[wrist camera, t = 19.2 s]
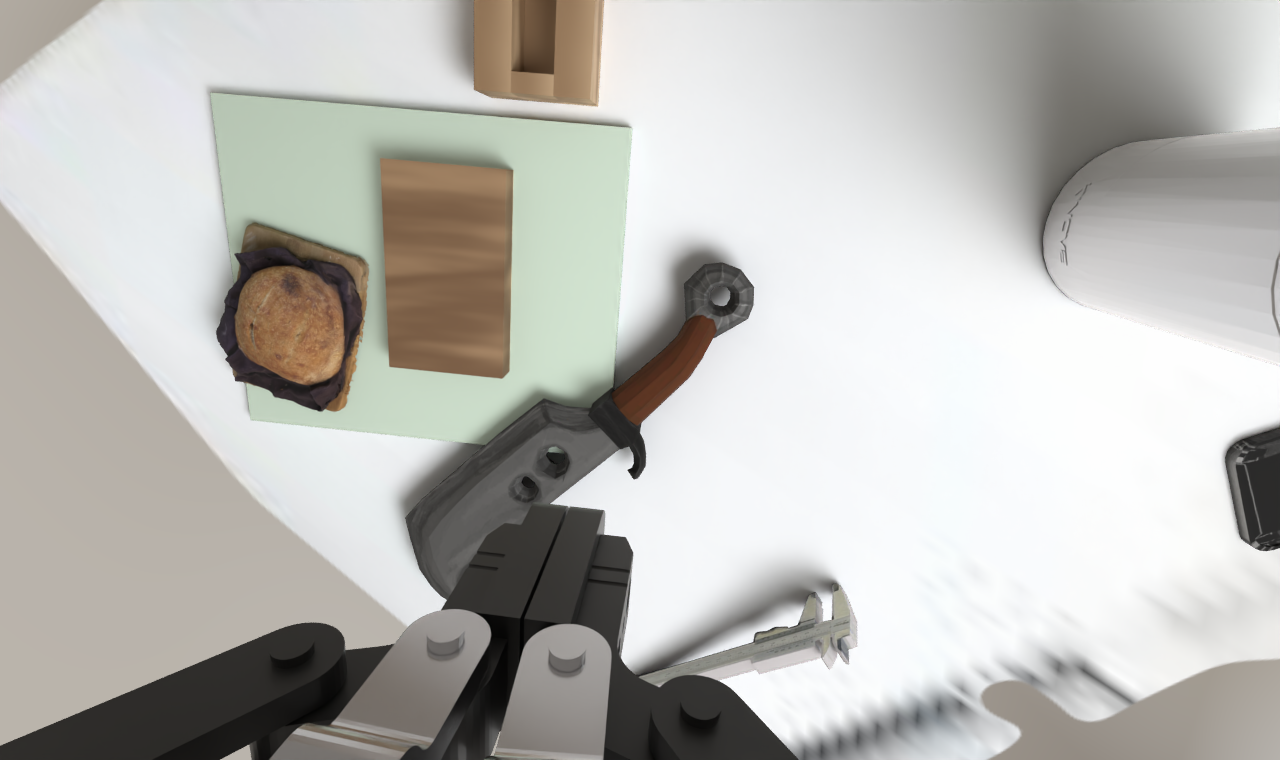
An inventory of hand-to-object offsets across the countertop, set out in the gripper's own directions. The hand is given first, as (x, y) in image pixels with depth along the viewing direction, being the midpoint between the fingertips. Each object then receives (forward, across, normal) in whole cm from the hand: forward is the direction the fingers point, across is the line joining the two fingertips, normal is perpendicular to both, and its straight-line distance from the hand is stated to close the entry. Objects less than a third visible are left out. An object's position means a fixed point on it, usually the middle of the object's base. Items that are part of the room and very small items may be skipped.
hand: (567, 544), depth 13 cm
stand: (+25, +7, -16) cm, 31 cm away
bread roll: (+25, +22, +2) cm, 33 cm away
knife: (+25, +4, +9) cm, 27 cm away
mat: (+25, +14, 0) cm, 29 cm away
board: (+24, +12, +4) cm, 27 cm away
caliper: (+26, -6, +24) cm, 36 cm away
